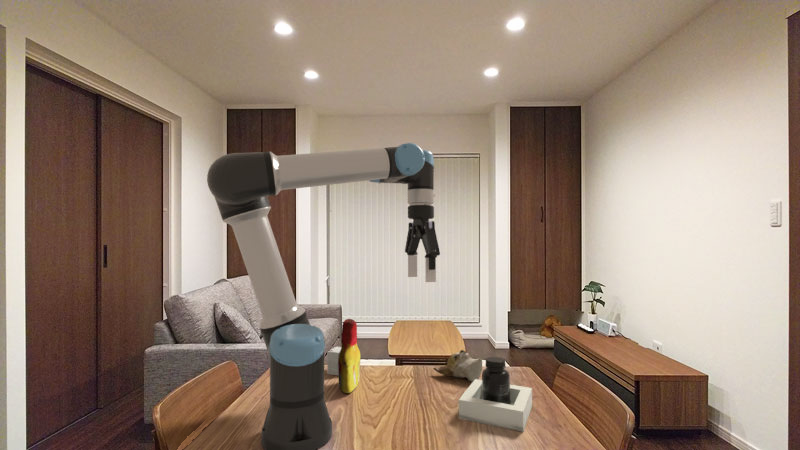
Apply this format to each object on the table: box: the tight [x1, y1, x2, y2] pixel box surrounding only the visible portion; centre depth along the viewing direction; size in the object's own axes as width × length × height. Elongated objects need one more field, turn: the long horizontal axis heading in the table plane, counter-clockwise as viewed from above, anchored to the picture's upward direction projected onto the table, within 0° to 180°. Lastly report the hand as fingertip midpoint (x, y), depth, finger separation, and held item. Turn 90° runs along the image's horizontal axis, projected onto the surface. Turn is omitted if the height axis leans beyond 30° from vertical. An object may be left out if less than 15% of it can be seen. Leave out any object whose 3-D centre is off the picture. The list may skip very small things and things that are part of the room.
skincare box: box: [326, 346, 342, 376], centre depth 127 cm, size 6×6×7 cm
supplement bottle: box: [481, 356, 511, 405], centre depth 98 cm, size 7×7×12 cm
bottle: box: [338, 318, 361, 394], centre depth 114 cm, size 12×6×20 cm, turn 177°
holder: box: [458, 379, 533, 433], centre depth 98 cm, size 15×15×4 cm
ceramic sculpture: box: [433, 349, 483, 383], centre depth 122 cm, size 11×9×15 cm
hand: (421, 279), depth 112 cm, fingers open, 13 cm apart
